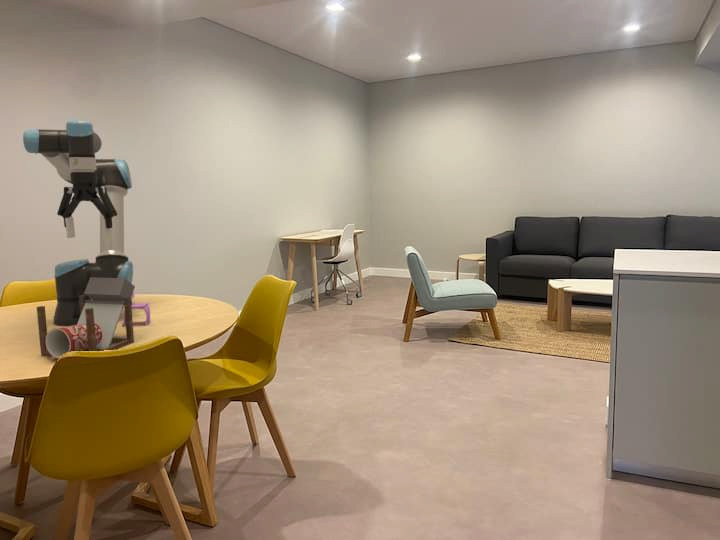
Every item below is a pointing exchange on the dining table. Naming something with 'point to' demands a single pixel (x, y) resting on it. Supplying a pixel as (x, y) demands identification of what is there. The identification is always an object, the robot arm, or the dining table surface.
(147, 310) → the purple tall handled piece
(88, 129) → the robot arm
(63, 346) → the mug
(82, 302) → the frame
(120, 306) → the trapdoor
